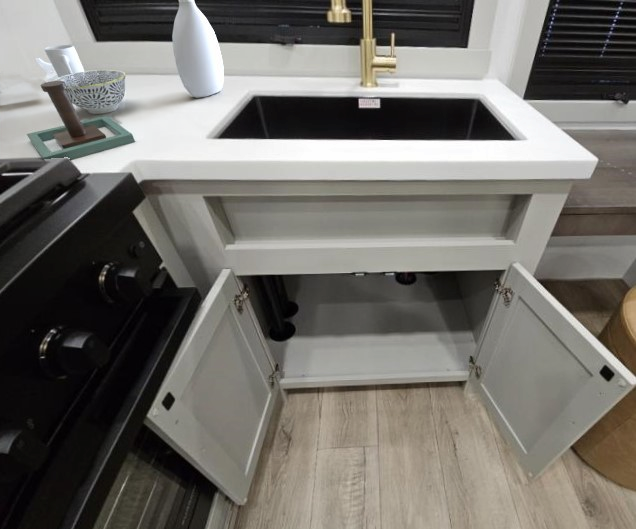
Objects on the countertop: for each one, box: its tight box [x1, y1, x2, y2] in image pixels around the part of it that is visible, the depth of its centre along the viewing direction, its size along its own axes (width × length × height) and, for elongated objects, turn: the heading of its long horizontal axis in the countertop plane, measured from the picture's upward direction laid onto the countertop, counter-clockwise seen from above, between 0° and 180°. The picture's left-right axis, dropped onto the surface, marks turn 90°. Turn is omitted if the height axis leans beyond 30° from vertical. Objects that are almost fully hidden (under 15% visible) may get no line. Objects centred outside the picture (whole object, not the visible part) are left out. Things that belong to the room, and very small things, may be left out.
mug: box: [43, 44, 85, 77], centre depth 87 cm, size 10×7×12 cm, turn 33°
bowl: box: [54, 69, 126, 115], centre depth 81 cm, size 16×16×8 cm
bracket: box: [35, 57, 59, 83], centre depth 102 cm, size 13×7×8 cm, turn 28°
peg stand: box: [39, 81, 107, 150], centre depth 65 cm, size 8×8×11 cm
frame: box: [26, 115, 136, 160], centre depth 68 cm, size 16×16×2 cm
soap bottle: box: [171, 0, 225, 99], centre depth 84 cm, size 14×8×27 cm, turn 145°
